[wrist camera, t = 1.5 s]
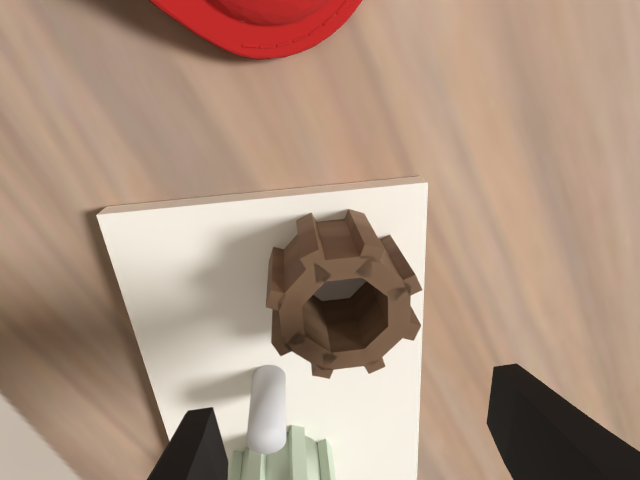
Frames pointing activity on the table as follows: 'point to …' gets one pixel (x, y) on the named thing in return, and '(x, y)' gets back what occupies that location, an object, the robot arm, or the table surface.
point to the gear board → (267, 330)
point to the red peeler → (261, 23)
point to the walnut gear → (341, 314)
